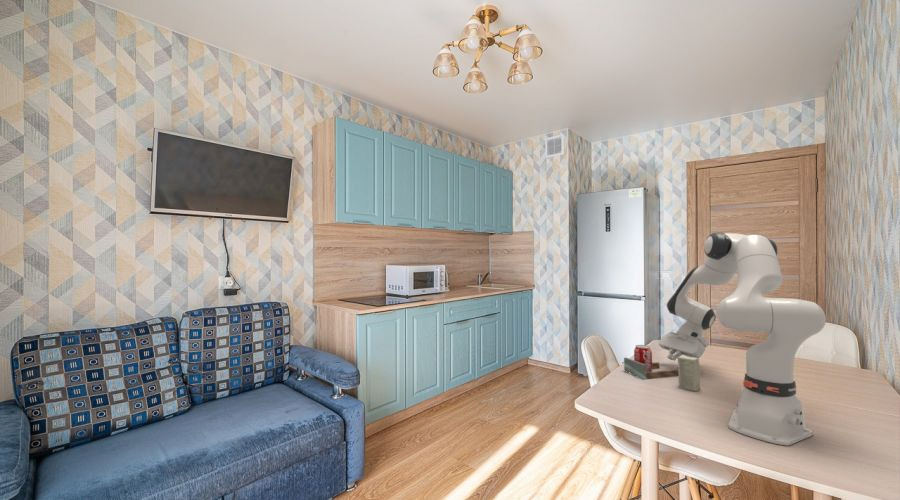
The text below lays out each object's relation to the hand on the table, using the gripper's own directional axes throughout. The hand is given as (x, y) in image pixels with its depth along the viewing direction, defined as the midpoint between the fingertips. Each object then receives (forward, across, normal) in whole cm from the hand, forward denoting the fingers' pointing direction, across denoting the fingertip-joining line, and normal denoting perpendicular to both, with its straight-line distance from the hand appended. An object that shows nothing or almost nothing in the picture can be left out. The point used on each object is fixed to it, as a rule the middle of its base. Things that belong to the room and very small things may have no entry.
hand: (670, 359), depth 166 cm
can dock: (+11, 0, -4) cm, 12 cm away
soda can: (+14, -1, -6) cm, 15 cm away
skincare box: (+12, +19, -4) cm, 23 cm away
